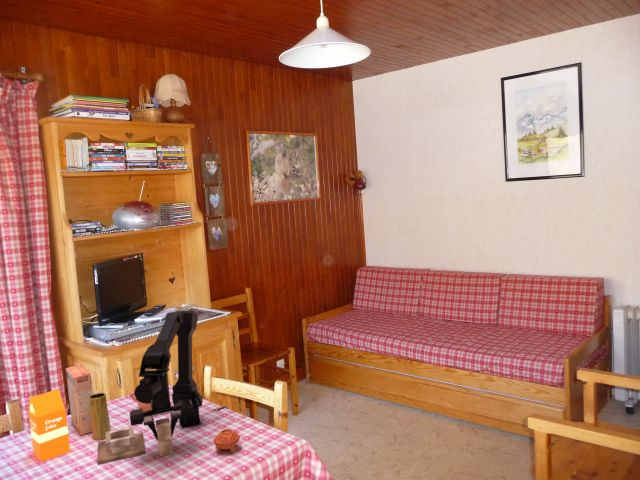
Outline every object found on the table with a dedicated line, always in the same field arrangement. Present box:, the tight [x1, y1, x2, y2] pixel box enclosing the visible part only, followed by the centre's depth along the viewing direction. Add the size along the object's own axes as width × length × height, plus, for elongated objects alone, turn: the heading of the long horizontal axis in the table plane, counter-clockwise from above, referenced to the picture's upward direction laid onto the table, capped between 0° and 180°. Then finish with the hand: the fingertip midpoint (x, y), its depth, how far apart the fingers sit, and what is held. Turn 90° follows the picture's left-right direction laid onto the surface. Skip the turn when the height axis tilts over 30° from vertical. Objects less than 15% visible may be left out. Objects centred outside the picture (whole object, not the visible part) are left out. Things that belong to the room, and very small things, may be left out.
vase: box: [89, 392, 112, 441], centre depth 186 cm, size 6×6×14 cm
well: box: [96, 426, 146, 465], centre depth 176 cm, size 14×14×5 cm
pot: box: [213, 428, 241, 453], centre depth 171 cm, size 8×8×7 cm
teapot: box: [129, 390, 152, 412], centre depth 207 cm, size 12×12×10 cm
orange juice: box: [27, 388, 71, 462], centre depth 176 cm, size 8×9×20 cm
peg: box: [155, 417, 174, 457], centre depth 172 cm, size 4×4×10 cm
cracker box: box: [65, 364, 93, 436], centre depth 194 cm, size 14×6×21 cm, turn 35°
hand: (164, 438), depth 172 cm, fingers closed on peg, 4 cm apart
